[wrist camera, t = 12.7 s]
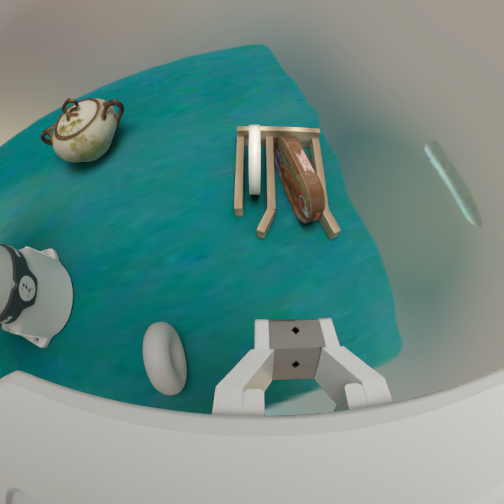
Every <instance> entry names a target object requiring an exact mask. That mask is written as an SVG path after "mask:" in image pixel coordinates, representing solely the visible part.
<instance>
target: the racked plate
mask: <svg viewBox="0 0 504 504" xmlns="http://www.w3.org/2000/svg"><path fill="white" fill-rule="evenodd" d="M260 182H261V137H260V125H249V194H250V195H260Z"/></svg>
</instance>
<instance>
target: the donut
mask: <svg viewBox="0 0 504 504" xmlns="http://www.w3.org/2000/svg"><path fill="white" fill-rule="evenodd" d="M143 359H144V365H145V369H146V372H147V374H148V377H149V379H150V381H151V383H152V384H153V386H154V387H155V388H156V389H157V390H158V391H159V392H161V393H162V394H165V395H175V394H178V393H179V392H180V391H181V390H182V389H183V387H184V386H185V382H186V377H187V367H186V358H185V353H184V349H183V345H182V342H181V340H180V338H179V335H178V333H177V332H176V330H175V329H174V328H173V327H172V326H171V325H169V324H168V323H165V322H157V323H154V324H152V325H151V326H149V328H148V330H147V331H146V333H145V336H144V340H143Z"/></svg>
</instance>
